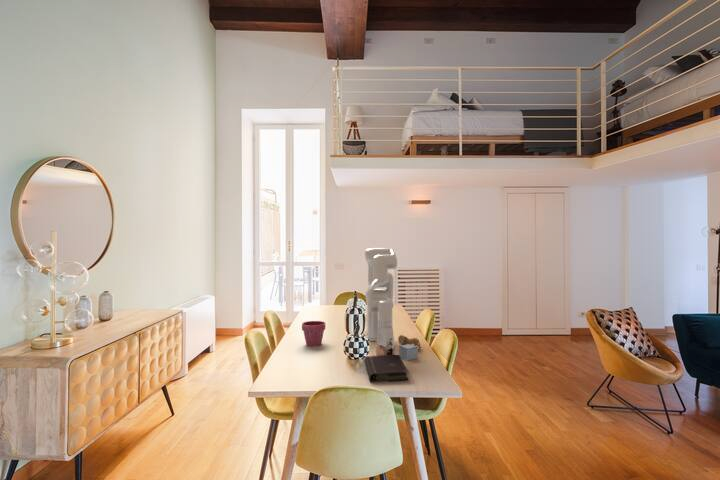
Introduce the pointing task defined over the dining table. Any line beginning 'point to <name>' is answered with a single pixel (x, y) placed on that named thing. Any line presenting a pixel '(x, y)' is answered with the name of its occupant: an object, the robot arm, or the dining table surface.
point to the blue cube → (408, 352)
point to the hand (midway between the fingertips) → (385, 357)
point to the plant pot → (313, 332)
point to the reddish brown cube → (382, 351)
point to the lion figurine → (408, 341)
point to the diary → (386, 368)
